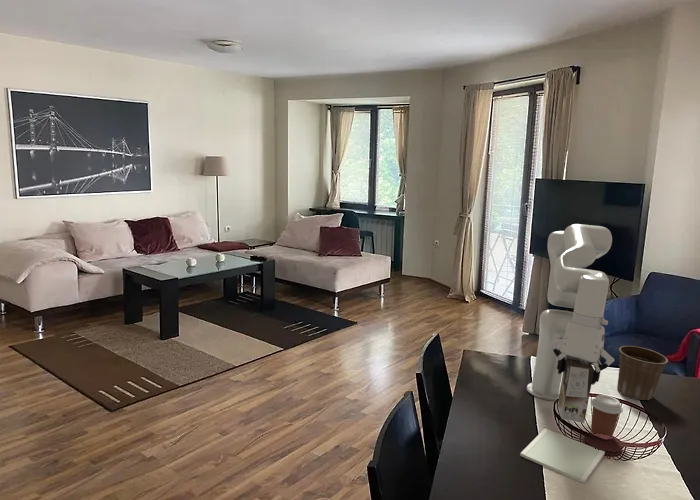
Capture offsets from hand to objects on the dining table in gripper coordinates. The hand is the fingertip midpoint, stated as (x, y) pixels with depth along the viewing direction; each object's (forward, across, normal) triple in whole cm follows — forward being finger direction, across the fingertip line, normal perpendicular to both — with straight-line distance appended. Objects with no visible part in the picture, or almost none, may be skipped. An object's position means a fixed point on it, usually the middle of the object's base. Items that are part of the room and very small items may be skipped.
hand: (576, 377), depth 155 cm
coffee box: (+12, 0, 0) cm, 12 cm away
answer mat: (+24, 0, 0) cm, 24 cm away
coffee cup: (+25, -5, -22) cm, 33 cm away
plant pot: (+25, -6, -65) cm, 70 cm away
